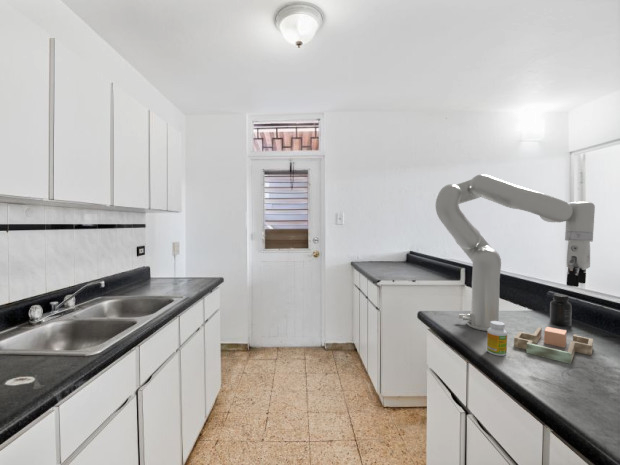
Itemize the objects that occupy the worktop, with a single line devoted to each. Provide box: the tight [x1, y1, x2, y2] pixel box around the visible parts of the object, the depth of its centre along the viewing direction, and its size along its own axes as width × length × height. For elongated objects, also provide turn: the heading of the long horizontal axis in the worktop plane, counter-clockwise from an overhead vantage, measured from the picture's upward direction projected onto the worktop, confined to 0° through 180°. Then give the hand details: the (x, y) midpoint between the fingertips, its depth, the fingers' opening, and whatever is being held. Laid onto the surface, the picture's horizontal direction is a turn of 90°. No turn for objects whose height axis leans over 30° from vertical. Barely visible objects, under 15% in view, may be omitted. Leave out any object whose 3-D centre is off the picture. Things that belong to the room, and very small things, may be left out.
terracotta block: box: [543, 326, 568, 348], centre depth 107 cm, size 6×6×4 cm
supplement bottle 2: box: [549, 293, 573, 328], centre depth 126 cm, size 7×7×12 cm
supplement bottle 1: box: [486, 321, 508, 357], centre depth 100 cm, size 5×5×10 cm
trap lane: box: [513, 326, 594, 365], centre depth 103 cm, size 19×21×3 cm
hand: (576, 284), depth 112 cm, fingers open, 9 cm apart
